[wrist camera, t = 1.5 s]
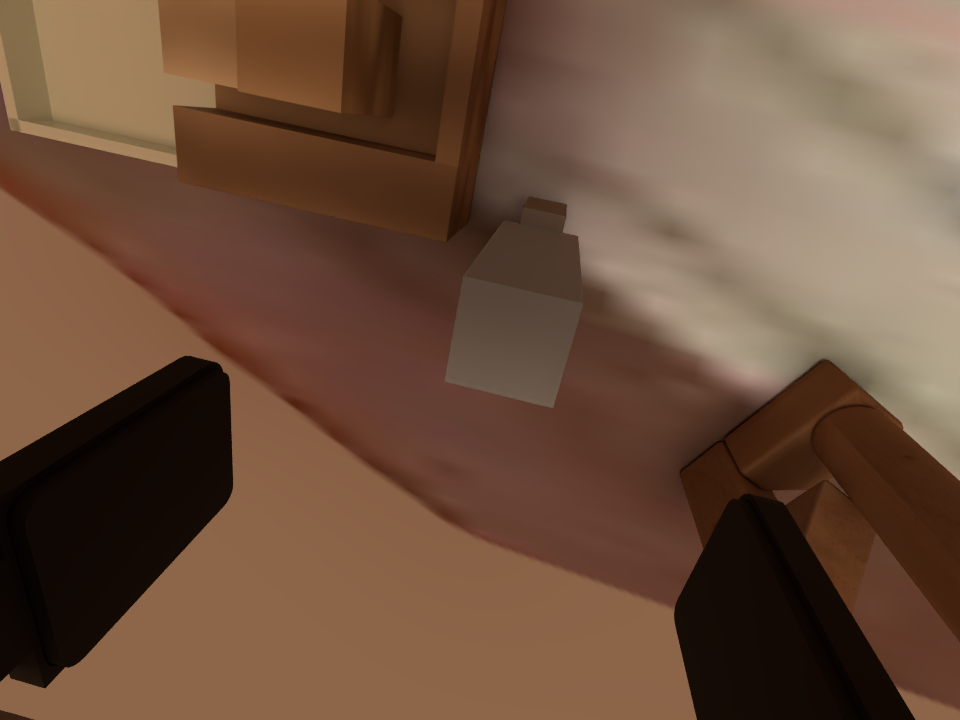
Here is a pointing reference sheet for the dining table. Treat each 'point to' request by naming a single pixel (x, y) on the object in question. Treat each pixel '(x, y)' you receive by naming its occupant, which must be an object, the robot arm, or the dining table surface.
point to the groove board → (364, 133)
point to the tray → (93, 76)
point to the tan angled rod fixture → (859, 471)
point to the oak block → (320, 53)
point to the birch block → (199, 40)
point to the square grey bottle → (519, 308)
